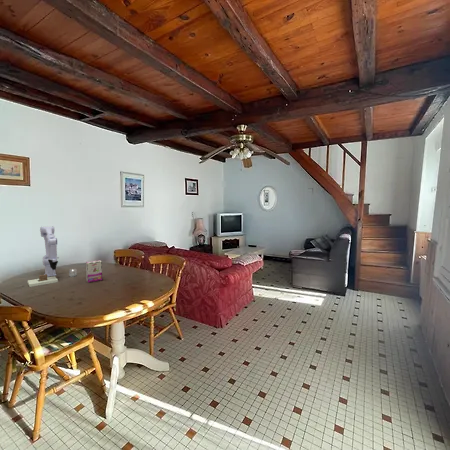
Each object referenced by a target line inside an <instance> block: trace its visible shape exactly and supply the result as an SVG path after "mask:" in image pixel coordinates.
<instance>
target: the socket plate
mask: <svg viewBox="0 0 450 450" xmlns="http://www.w3.org/2000/svg"><path fill="white" fill-rule="evenodd" d="M58 282H59V280H58V278H57V277H56V275H55V276H49V277H47V280H45V281H39V278H35V279H28V280H27V284H28V286H29V287H30V288H32V287H37V286H43V285H47V284H48V285H49V284H56V283H58Z"/></svg>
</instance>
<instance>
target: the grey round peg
mask: <svg viewBox="0 0 450 450" xmlns="http://www.w3.org/2000/svg"><path fill="white" fill-rule="evenodd" d="M77 271H78V269H77V268H70V269H68V275H69V278H75V277H77V275H78V272H77Z"/></svg>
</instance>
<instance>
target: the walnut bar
mask: <svg viewBox="0 0 450 450" xmlns="http://www.w3.org/2000/svg"><path fill="white" fill-rule="evenodd" d="M44 274H45V273H44ZM44 274H39V275H38V279H39V281H45V280H47V274H45V275H44Z"/></svg>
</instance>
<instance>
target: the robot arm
mask: <svg viewBox="0 0 450 450" xmlns="http://www.w3.org/2000/svg"><path fill="white" fill-rule="evenodd" d="M39 228H40V229H39V231H40V236H41V237H43V238H44V246H45V255H44V256H42V265H43V266H44V271H45V273H43V275H45V274H47V277H53V276H55V277H56V276H57V273H56V270H57V265H58V263H59V261H58V259H59V258H60V257H59V256H58V250H57V249H58V248H57V247H58V238H57V237H56V235H55V226H54V225H53V226H52V225H49V226H48V225H47V226H43V225H41V226H40V227H39Z"/></svg>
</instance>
